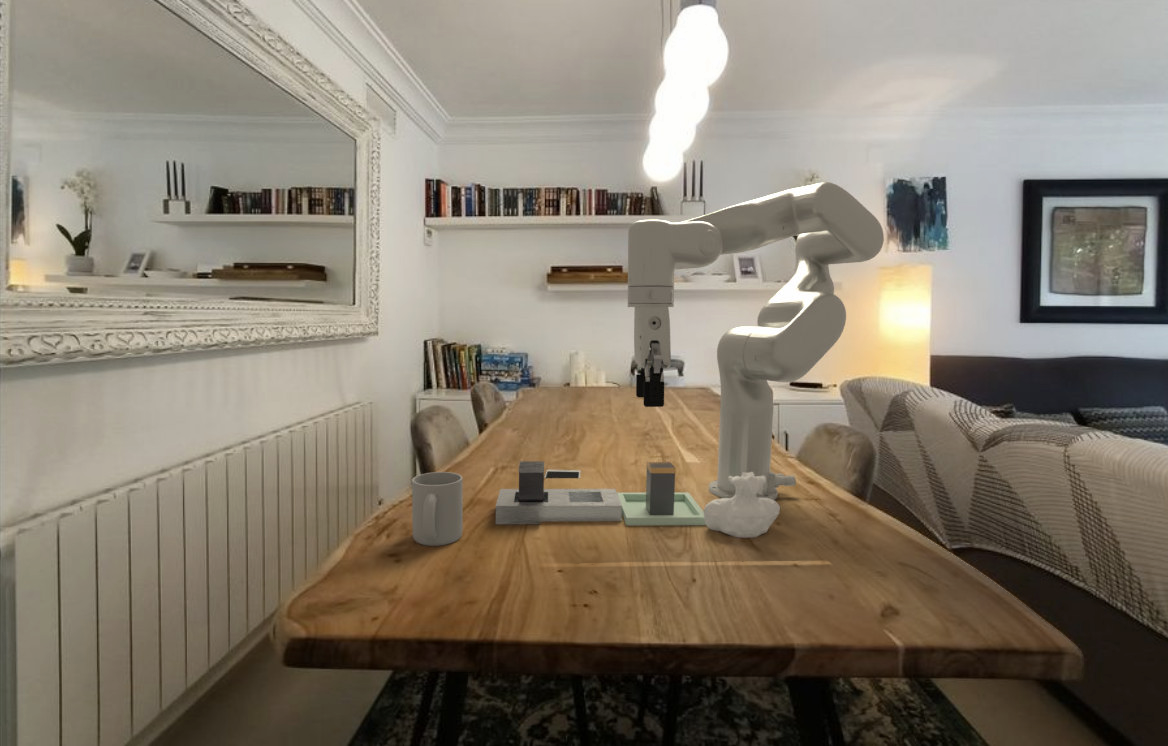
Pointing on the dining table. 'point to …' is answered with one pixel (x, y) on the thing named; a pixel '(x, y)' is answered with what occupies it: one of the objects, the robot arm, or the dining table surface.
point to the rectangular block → (660, 488)
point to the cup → (437, 508)
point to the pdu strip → (553, 501)
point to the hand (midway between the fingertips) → (649, 401)
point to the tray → (683, 515)
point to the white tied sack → (742, 509)
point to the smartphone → (562, 474)
